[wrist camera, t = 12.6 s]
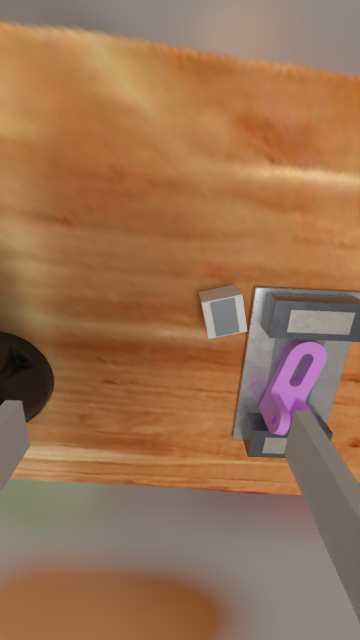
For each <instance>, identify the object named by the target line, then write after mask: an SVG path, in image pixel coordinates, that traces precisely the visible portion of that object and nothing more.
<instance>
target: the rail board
mask: <svg viewBox="0 0 360 640" xmlns="http://www.w3.org/2000/svg"><path fill="white" fill-rule="evenodd" d="M297 339H304V340H316V341H317V342H318V343H319V344H320V345H322V346H323V347H324V349H325V351H326V353H327V360H326V363H325V365H324V367H323V368H322V370H321V372H320V374H319V376H318V378H317V379H316V381H315V383H314V385H313V387H312V388H311V390H310V392H309V394H308V396H307V397H306V404H307V405H308V407H309V408H310V410H311V411H312V413H313V414H314V416H315V417H316V419H317V421H318V424H319V425H320V427H321V428H322V430H323V431H324V433H325V434H326V436H327V437H328V439H329V440H330V441H331V438H332V435H333V433H332V432H331V430H330V429H329V427H328V426H327V421H328V418H329V414H330V411H331V408H332V404H333V401H334V397H335V394H336V391H337V387H338V384H339V381H340V377H341V374H342V370H343V367H344V364H345V360H346V357H347V353H348V350H349V347H350V343H351V342H360V291H346V290H325V289H304V288H284V287H263V286H254V290H253V297H252V304H251V310H250V317H249V324H248V331H247V337H246V344H245V351H244V357H243V364H242V371H241V378H240V384H239V391H238V398H237V404H236V411H235V418H234V425H233V431H232V437H233V439H240V440H243V441H244V445H245V448H246V451H247V455H248V457H276V458H286V457H285V454H284V451H285V447H286V443H287V439H288V435H289V431H290V426H289V429H288V431H287V433H286V434H285V435H278V434H274V433H271V432H270V431H269V430H268V427H267V425H266V423H265V420H264V418H263V416H262V413H261V411H260V409H259V404H260V402H261V400H262V397H263V395H264V393H265V391H266V389H267V387H268V385H269V383H270V381H271V379H272V377H273V375H274V373H275V371H276V369H277V367H278V365H279V363H280V361H281V358H282V356H283V354H284V352H285V350H286V348H287V347H288V346H289V345H290V344H291V343H292V342H294V341H295V340H297ZM308 357H309V354H305V355H303V356H302V357H301V359H300V361H299V363H298V365H297V367H296V369H295V371H294V373H293V375H292V377H291V379H290V381H295V380H296V379H297V378H298V376H299V374H300V372H301V370H302V368H303V367H304V365H305V363H306V361H307V359H308Z"/></svg>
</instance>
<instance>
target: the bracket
mask: <svg viewBox="0 0 360 640" xmlns="http://www.w3.org/2000/svg"><path fill="white" fill-rule="evenodd" d="M305 354H309V357H308V359H307V361H306V363H305V365H304V367H303V368H302V370H301V372H300V374H299V376H298V378H297V379H296V380H295V381H290V379H291V377H292V375H293V373H294V371H295V369H296V367H297V365H298V363H299V361H300V359H301V357H302V356H303V355H305ZM326 360H327V353H326V351H325V349H324V347H323V346H322V345H320V344H319V343H318V342H317V341H316V340H304V339H297V340H295V341H294V342H292V343H291V344H290V345H289V346H288V347H287V348H286V350H285V352H284V354H283V356H282V358H281V361H280V363H279V365H278V367H277V369H276V371H275V373H274V375H273V377H272V379H271V381H270V383H269V385H268V387H267V389H266V391H265V393H264V395H263V397H262V400H261V402H260V404H259V409H260V411H261V413H262V416H263V418H264V420H265V423H266V425H267V427H268V430H269V431H270V432H271V433H274V434H278V435H285V434H286V433H287V431H288V429H289V426H291V422H292V418H293V414H294V410H301V411H310V412H311V413H312V411H311V410H310V408H309V407H308V405H307V404H306V397H307V396H308V394H309V392H310V390H311V388H312V387H313V385H314V383H315V381H316V379H317V378H318V376H319V374H320V372H321V370H322V368H323V367H324V365H325V363H326ZM312 415H313V416H314V414H313V413H312ZM314 418H315V419H316V417H315V416H314ZM316 421H317V419H316ZM317 422H318V421H317Z"/></svg>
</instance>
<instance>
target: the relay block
mask: <svg viewBox="0 0 360 640" xmlns="http://www.w3.org/2000/svg"><path fill="white" fill-rule="evenodd" d="M199 296H200V301H201V306H202V312H203V317H204V322H205V326H206V330H207V334H208V338H209V339H212V338H217V337H222V336H227V335H232V334H237V333H242V332H247V325H246V318H245V311H244V304H243V296H242V293H241V292H240V291H239V290H238V288H237V287H236V286H235V285H230V286H225V287H221V288H216V289H211V290H206V291H201V292H199Z"/></svg>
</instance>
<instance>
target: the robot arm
mask: <svg viewBox="0 0 360 640" xmlns="http://www.w3.org/2000/svg"><path fill="white" fill-rule="evenodd" d="M53 386H54V380H53V374H52V371H51V368H50V366H49V364H48V362H47V361H46V359H45V358H44V356H43V355H42V354H41V353H40V352H39V351H38V350H37V349H36V348H35V347H34V346H32V345H31V344H30V343H28V342H26V341H25V340H23V339H21V338H19V337H16V336H14V335H11V334H7V333H2V332H0V492H1V491H2V489H3V488H4V486H5V484H6V483H7V481H8V480H9V478H10V476H11V475H12V473H13V472H14V470H15V469H16V467H17V465H18V464H19V462H20V461H21V459H22V457H23V456H24V454H25V453H26V451H27V449H28V448H29V446H30V443H29V438H28V432H27V427H26V422H28V421H30V420H31V419H33V418H34V417H35V416H37V415H38V414H39V413H40V412H41V410H42V409H43V408H44V406H45V405H46V403H47V402H48V400H49V399H50V397H51V395H52V392H53ZM284 454H285V457H286V459H287V461H288V463H289V466H290V468H291V470H292V472H293V475H294V477H295V479H296V481H297V483H298V486H299V488H300V490H301V492H302V495H303V497H304V499H305V501H306V504H307V506H308V508H309V510H310V512H311V515H312V517H313V519H314V521H315V524H316V526H317V528H318V530H319V533H320V535H321V537H322V539H323V542H324V544H325V546H326V548H327V550H328V553H329V555H330V557H331V559H332V562H333V564H334V566H335V568H336V571H337V573H338V575H339V577H340V580H341V582H342V584H343V586H344V589H345V591H346V593H347V595H348V597H349V600H350V602H351V604H352V607H353V609H354V611H355V613H356V615H357V618H358V620H359V622H360V484H359V483H358V482H357V480H356V479H355V477H354V476H353V474H352V473H351V471H350V470H349V468H348V467H347V465H346V464H345V462H344V461H343V459H342V458H341V456H340V455H339V453H338V452H337V450H336V449H335V447H334V446H333V445H332V443H331V442H330V440H329V439H328V437H327V436H326V434H325V433H324V431H323V430H322V428H321V427H320V425H319V424H318V422H317V421H316V419H315V418H314V416H313V415H312V413H311V412H310V411H301V410H294V414H293V418H292V422H291V426H290V431H289V435H288V439H287V443H286V447H285V451H284Z"/></svg>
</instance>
